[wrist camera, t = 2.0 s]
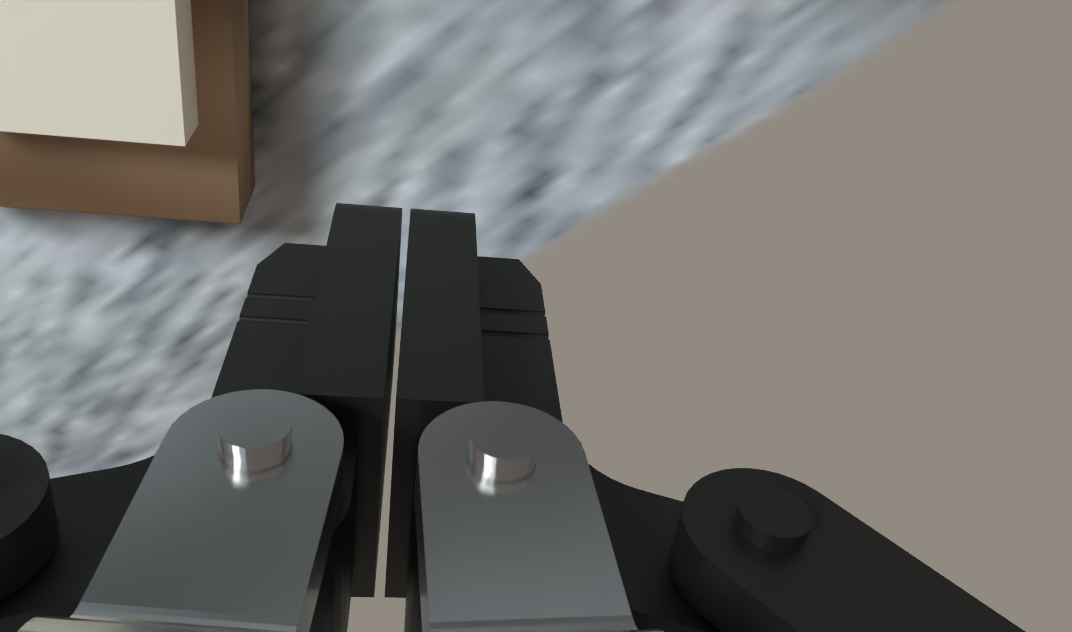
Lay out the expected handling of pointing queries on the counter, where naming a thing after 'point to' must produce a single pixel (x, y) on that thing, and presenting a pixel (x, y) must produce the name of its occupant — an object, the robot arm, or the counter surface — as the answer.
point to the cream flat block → (98, 69)
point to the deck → (155, 145)
